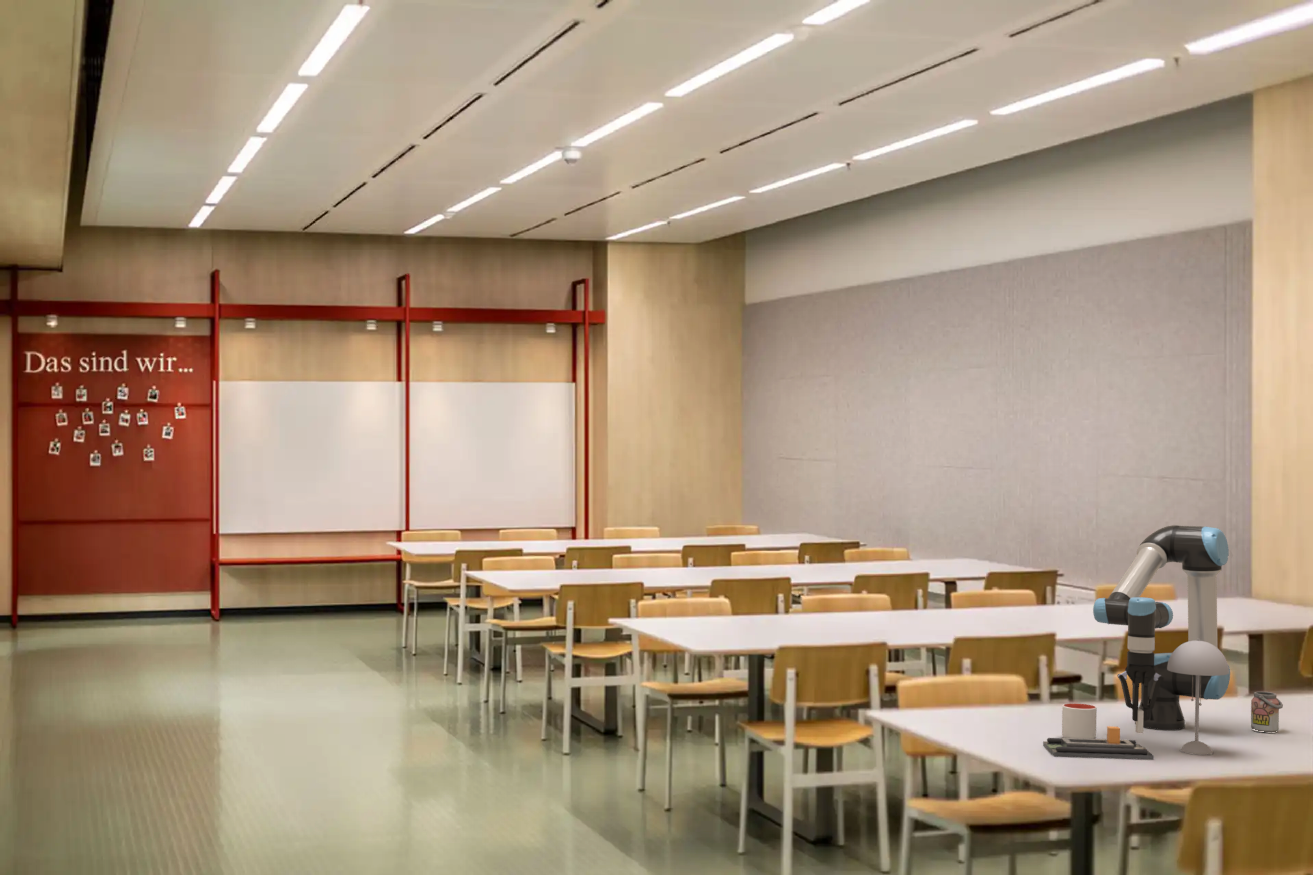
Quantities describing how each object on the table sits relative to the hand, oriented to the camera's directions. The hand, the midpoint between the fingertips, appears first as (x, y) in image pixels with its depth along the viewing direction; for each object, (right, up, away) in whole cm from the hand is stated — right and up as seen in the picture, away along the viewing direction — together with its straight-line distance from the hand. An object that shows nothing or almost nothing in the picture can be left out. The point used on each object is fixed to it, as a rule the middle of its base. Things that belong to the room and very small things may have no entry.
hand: (1139, 732), depth 434 cm
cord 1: (-12, -5, +8) cm, 15 cm away
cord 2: (-13, -5, -6) cm, 15 cm away
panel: (-12, -6, +1) cm, 13 cm away
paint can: (+53, -8, +39) cm, 66 cm away
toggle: (-7, -5, +1) cm, 9 cm away
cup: (-12, -6, +21) cm, 25 cm away
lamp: (+18, -7, +5) cm, 20 cm away
